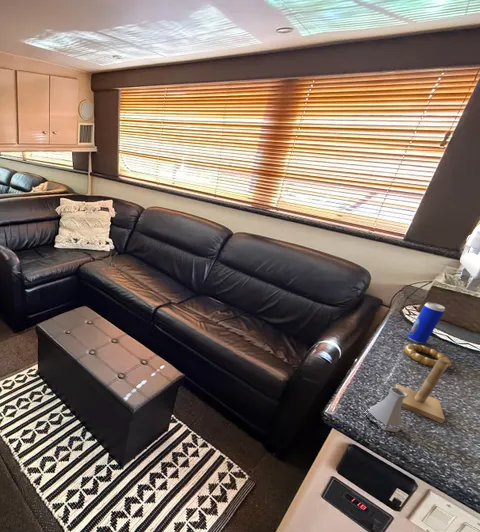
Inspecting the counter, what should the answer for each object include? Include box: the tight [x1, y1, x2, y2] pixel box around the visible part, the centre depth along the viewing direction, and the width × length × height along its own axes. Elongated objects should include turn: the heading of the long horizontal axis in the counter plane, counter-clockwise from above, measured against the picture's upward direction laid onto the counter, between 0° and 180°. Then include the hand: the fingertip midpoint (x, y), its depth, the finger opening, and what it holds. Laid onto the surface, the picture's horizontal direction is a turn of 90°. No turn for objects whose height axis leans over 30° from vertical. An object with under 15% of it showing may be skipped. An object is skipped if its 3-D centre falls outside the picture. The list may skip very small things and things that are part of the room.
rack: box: [394, 358, 451, 424], centre depth 86 cm, size 9×9×16 cm
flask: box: [363, 386, 408, 433], centre depth 81 cm, size 7×7×10 cm
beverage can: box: [407, 301, 446, 344], centre depth 117 cm, size 5×5×15 cm
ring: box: [403, 343, 452, 369], centre depth 108 cm, size 11×11×2 cm
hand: (465, 285), depth 100 cm, fingers open, 8 cm apart
